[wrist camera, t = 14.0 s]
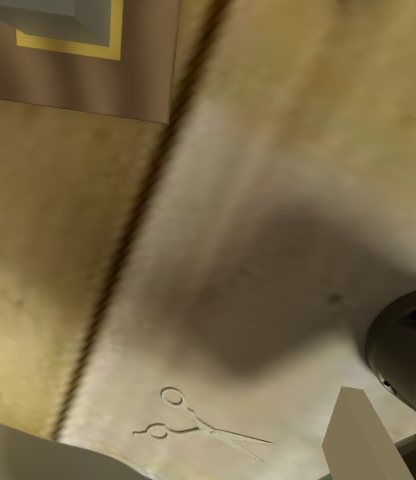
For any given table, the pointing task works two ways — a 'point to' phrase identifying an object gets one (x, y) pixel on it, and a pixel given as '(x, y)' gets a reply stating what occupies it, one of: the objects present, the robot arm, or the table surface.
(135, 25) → the base plate
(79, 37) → the collar
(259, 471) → the table surface
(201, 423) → the scissors
